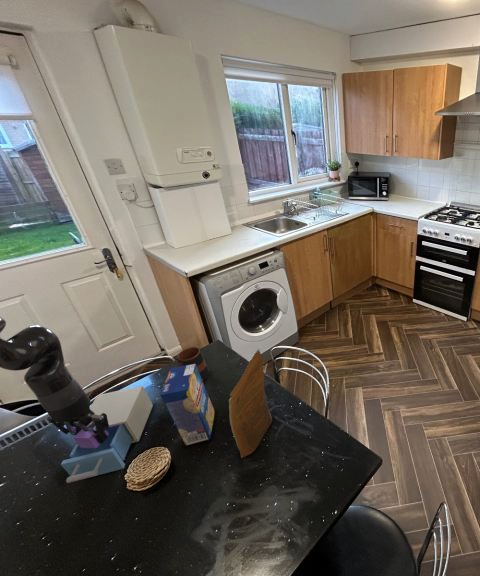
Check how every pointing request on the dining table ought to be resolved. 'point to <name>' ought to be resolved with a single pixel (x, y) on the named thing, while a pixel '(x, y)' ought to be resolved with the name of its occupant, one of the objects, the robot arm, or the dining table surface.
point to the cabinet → (125, 409)
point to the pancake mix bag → (249, 407)
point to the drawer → (99, 456)
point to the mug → (193, 360)
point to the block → (87, 439)
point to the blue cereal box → (188, 403)
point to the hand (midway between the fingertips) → (94, 440)
